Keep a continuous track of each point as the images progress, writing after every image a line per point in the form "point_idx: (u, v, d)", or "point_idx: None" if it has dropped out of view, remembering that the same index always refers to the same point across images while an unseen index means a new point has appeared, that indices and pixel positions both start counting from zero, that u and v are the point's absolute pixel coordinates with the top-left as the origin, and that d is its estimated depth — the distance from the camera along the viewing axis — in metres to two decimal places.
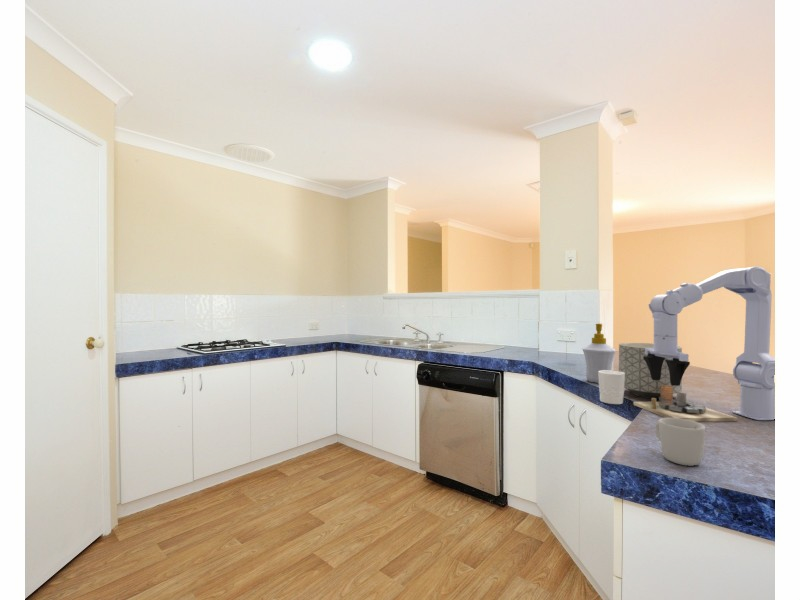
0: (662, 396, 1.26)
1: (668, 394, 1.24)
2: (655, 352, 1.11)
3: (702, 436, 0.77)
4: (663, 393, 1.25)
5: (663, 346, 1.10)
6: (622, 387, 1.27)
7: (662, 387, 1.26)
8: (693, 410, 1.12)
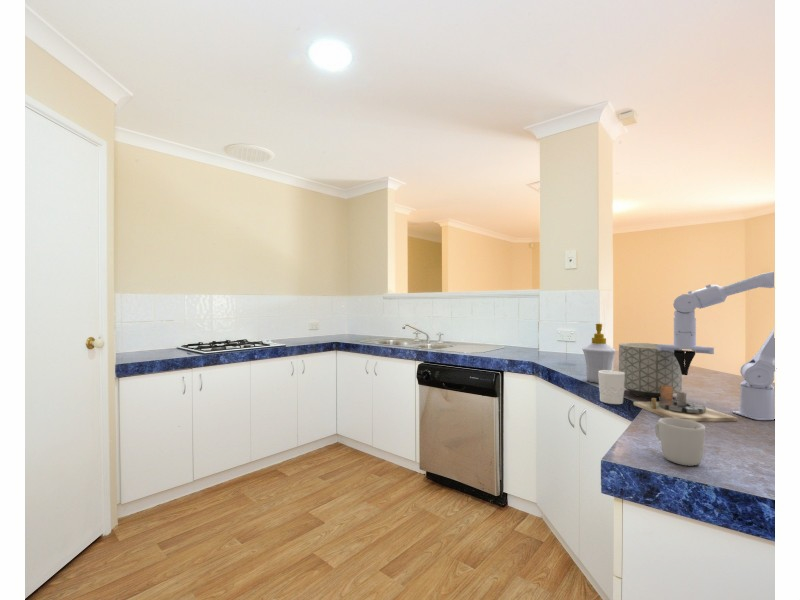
0: (662, 396, 1.26)
1: (668, 394, 1.24)
2: None
3: (702, 436, 0.77)
4: (663, 393, 1.25)
5: None
6: (622, 387, 1.27)
7: (662, 387, 1.26)
8: (693, 410, 1.12)
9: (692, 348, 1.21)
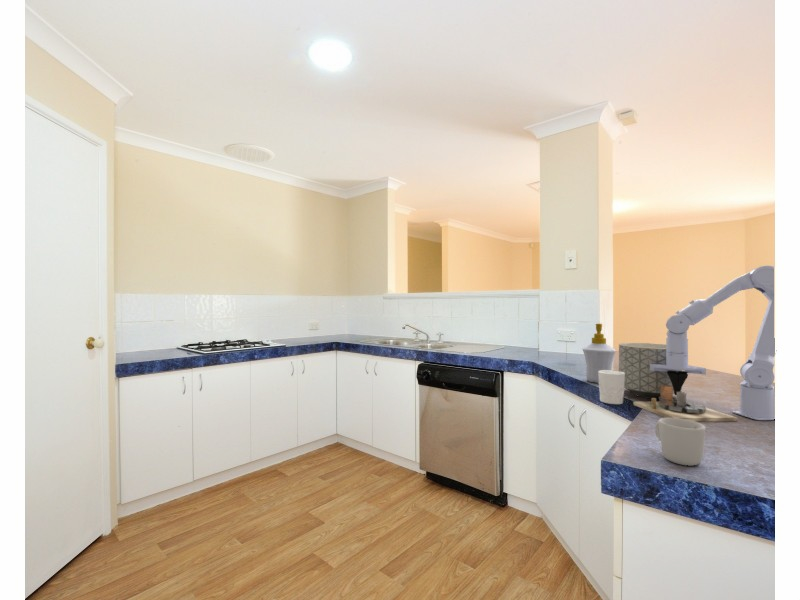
0: (662, 396, 1.26)
1: (668, 394, 1.24)
2: None
3: (702, 436, 0.77)
4: (663, 393, 1.25)
5: None
6: (622, 387, 1.27)
7: (662, 387, 1.26)
8: (693, 410, 1.12)
9: (687, 369, 1.22)
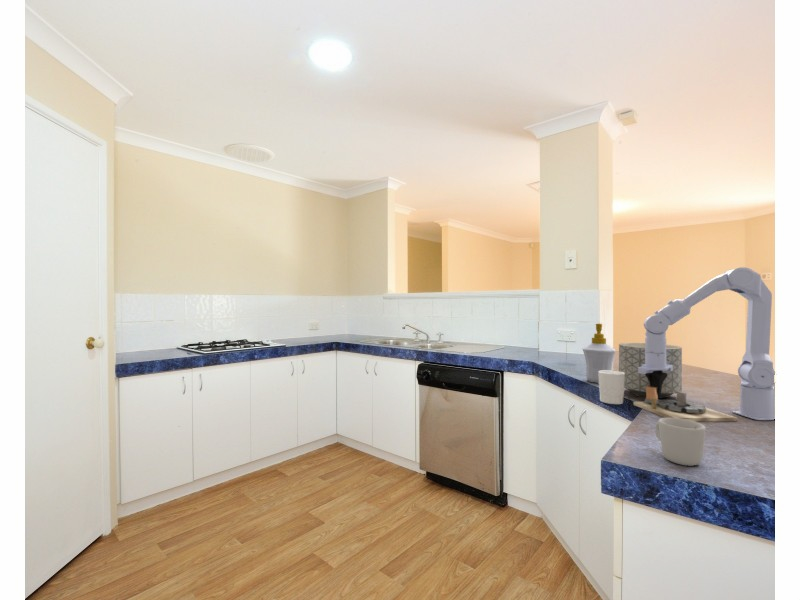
0: (650, 398, 1.23)
1: (656, 395, 1.23)
2: (642, 365, 1.28)
3: (702, 436, 0.77)
4: (651, 394, 1.23)
5: (645, 360, 1.26)
6: (622, 387, 1.27)
7: (650, 389, 1.23)
8: (704, 409, 1.13)
9: (667, 368, 1.24)
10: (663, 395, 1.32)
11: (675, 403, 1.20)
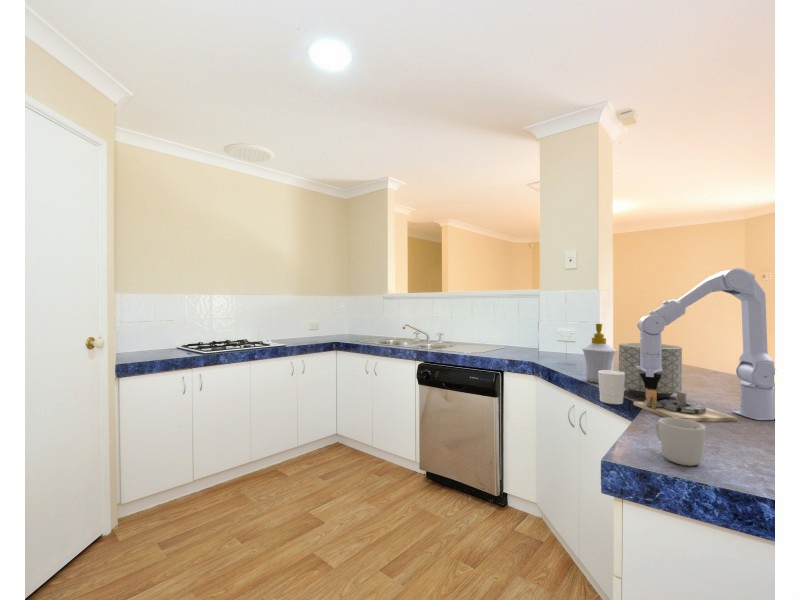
0: (651, 401, 1.19)
1: None
2: (636, 367, 1.24)
3: (701, 435, 0.77)
4: (653, 397, 1.19)
5: (642, 362, 1.22)
6: (622, 387, 1.27)
7: (651, 391, 1.19)
8: None
9: None
10: (663, 395, 1.32)
11: (672, 403, 1.19)
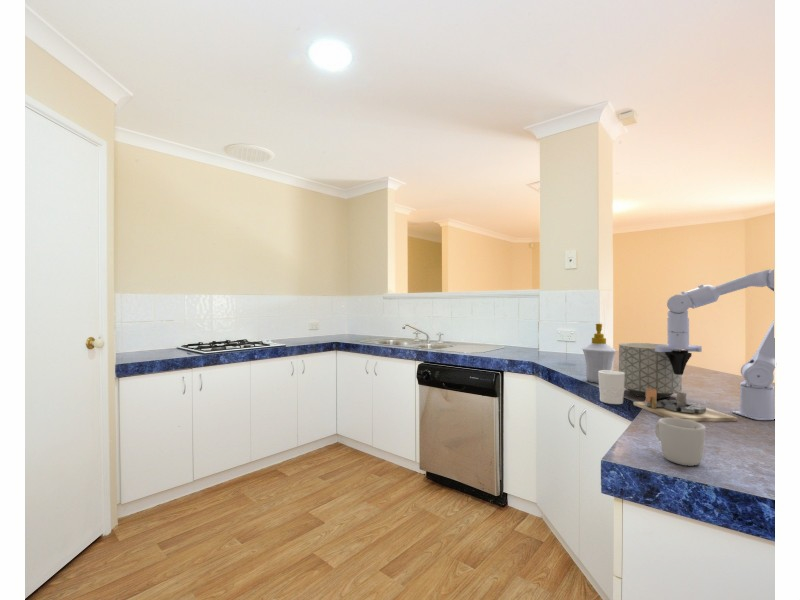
0: (651, 401, 1.19)
1: None
2: None
3: (702, 436, 0.77)
4: (653, 397, 1.19)
5: None
6: (622, 387, 1.27)
7: (651, 391, 1.19)
8: None
9: (690, 347, 1.23)
10: (663, 395, 1.32)
11: (672, 403, 1.19)
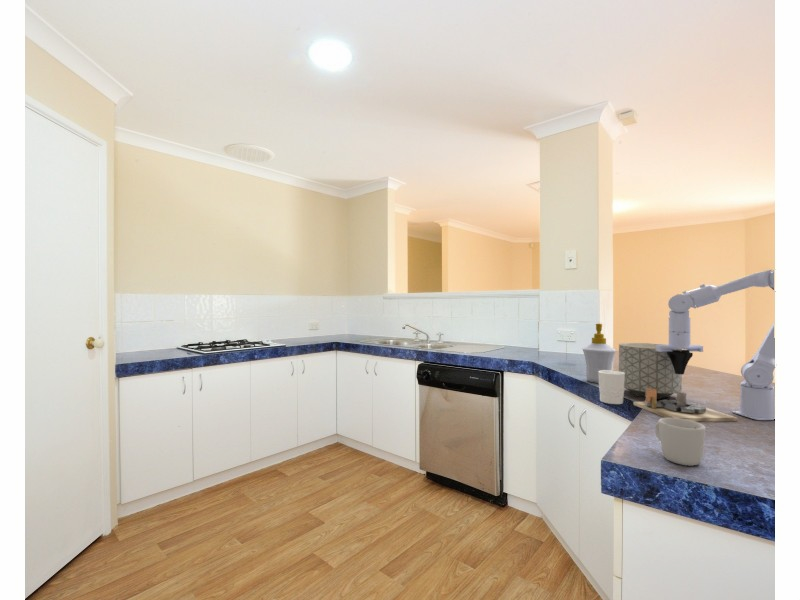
0: (651, 401, 1.19)
1: None
2: (668, 345, 1.29)
3: (701, 435, 0.77)
4: (653, 397, 1.19)
5: None
6: (622, 387, 1.27)
7: (651, 391, 1.19)
8: None
9: (691, 347, 1.23)
10: (663, 395, 1.32)
11: (672, 403, 1.19)
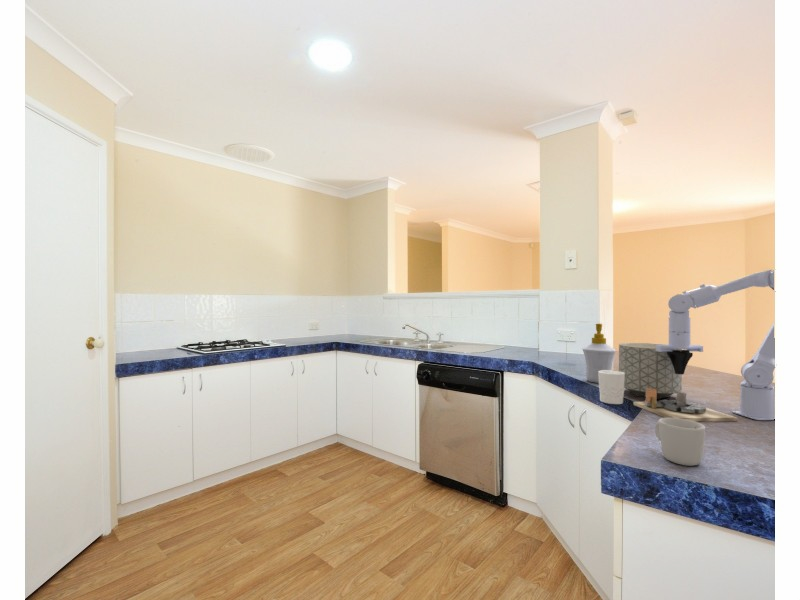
0: (651, 401, 1.19)
1: None
2: (668, 345, 1.29)
3: (701, 435, 0.77)
4: (653, 397, 1.19)
5: None
6: (622, 387, 1.27)
7: (651, 391, 1.19)
8: None
9: (691, 347, 1.23)
10: (663, 395, 1.32)
11: (672, 403, 1.19)
